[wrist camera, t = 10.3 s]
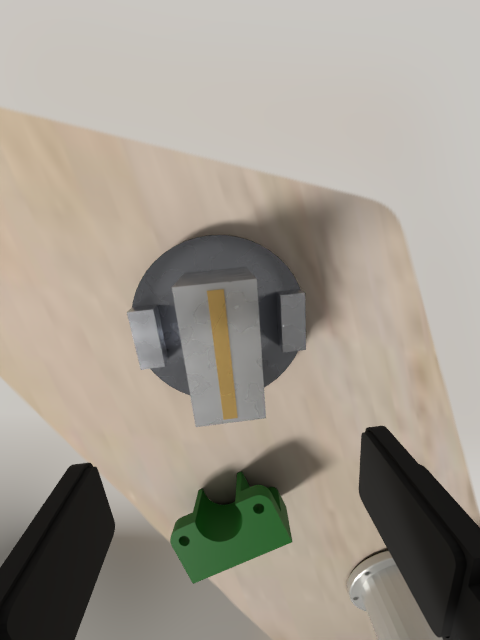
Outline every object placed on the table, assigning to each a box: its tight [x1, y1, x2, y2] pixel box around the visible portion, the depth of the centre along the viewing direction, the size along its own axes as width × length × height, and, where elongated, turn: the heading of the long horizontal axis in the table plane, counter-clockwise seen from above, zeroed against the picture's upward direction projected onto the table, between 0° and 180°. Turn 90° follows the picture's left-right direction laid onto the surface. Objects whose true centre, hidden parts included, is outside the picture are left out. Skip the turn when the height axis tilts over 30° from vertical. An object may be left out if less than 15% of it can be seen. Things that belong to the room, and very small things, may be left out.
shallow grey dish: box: [127, 235, 306, 395], centre depth 23 cm, size 15×15×3 cm
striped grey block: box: [172, 267, 266, 427], centre depth 20 cm, size 5×10×6 cm, turn 5°
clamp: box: [170, 472, 292, 583], centre depth 28 cm, size 12×6×9 cm, turn 110°
